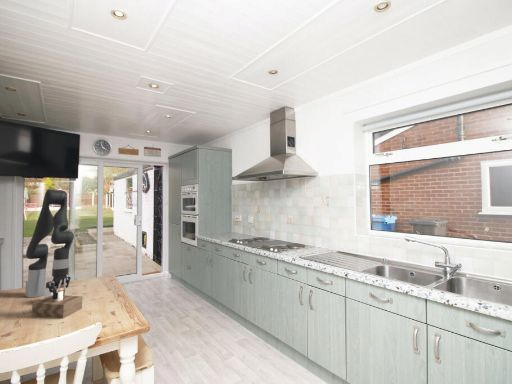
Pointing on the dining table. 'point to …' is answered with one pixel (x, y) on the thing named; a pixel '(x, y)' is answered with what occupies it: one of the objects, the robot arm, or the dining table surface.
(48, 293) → the jar
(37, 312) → the socket block
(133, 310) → the dining table surface
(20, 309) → the dining table surface
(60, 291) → the plug
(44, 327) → the dining table surface
